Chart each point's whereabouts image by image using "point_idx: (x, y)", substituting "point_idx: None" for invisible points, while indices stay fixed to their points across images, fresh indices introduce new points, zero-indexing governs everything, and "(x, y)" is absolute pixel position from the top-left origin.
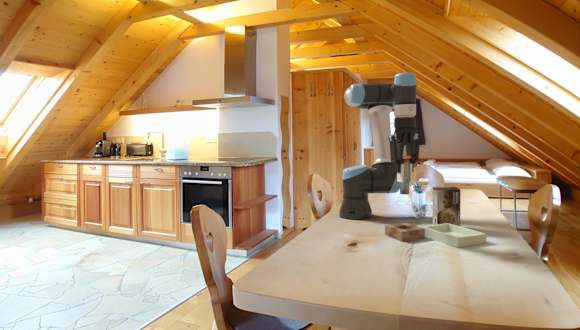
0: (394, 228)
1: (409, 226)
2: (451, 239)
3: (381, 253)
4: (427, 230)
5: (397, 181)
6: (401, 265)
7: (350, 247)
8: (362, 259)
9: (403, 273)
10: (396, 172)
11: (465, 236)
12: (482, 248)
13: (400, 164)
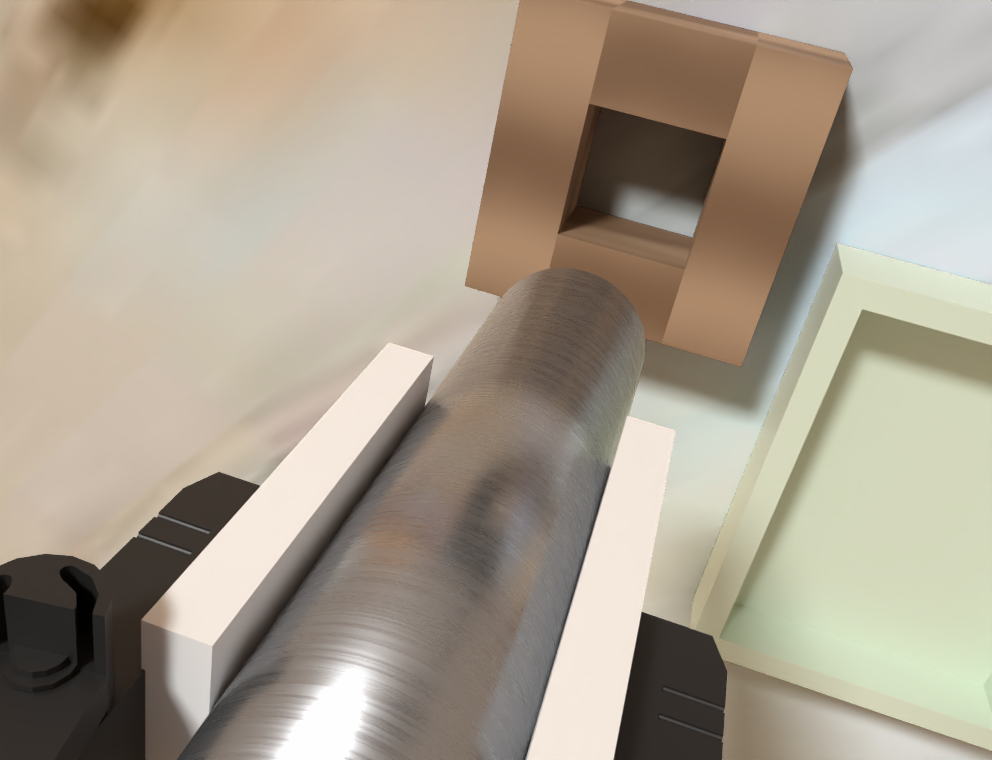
0: (509, 151)
1: (706, 209)
2: (708, 585)
3: (166, 317)
4: (807, 350)
5: (385, 356)
6: (143, 505)
7: (43, 70)
8: (4, 307)
9: (86, 559)
10: (210, 490)
11: (789, 672)
12: (808, 711)
13: (132, 748)
